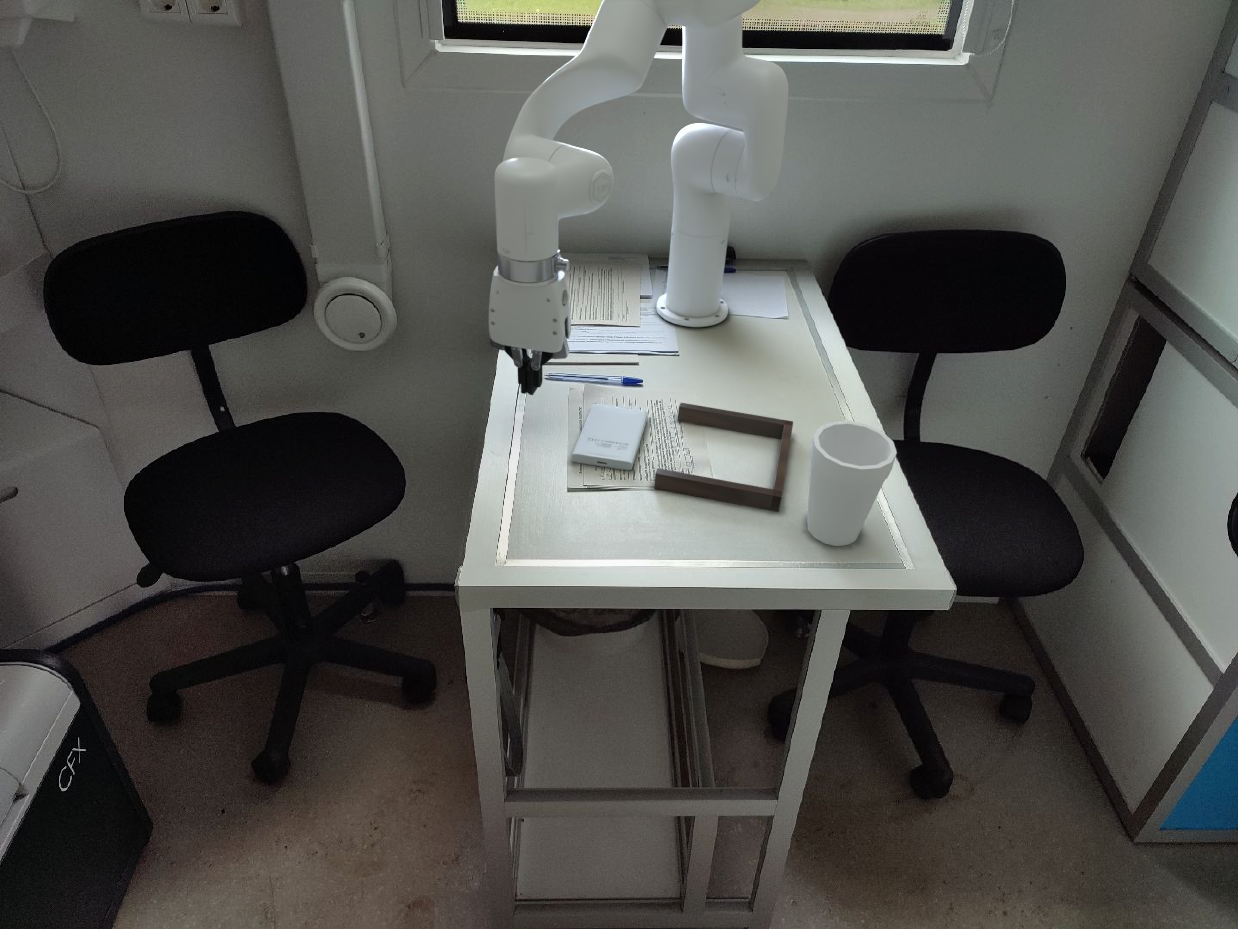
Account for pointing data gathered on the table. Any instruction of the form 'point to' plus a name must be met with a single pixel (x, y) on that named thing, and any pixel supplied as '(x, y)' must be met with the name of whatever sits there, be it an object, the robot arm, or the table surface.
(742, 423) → the dock
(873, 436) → the foam cup
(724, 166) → the robot arm
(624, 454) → the hard drive
